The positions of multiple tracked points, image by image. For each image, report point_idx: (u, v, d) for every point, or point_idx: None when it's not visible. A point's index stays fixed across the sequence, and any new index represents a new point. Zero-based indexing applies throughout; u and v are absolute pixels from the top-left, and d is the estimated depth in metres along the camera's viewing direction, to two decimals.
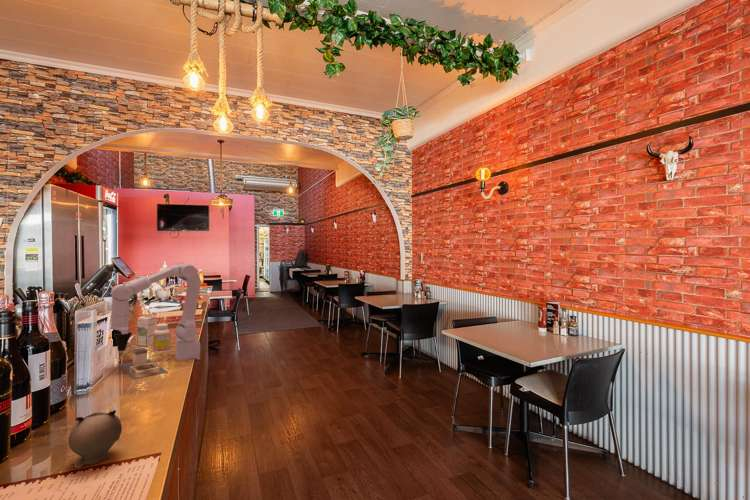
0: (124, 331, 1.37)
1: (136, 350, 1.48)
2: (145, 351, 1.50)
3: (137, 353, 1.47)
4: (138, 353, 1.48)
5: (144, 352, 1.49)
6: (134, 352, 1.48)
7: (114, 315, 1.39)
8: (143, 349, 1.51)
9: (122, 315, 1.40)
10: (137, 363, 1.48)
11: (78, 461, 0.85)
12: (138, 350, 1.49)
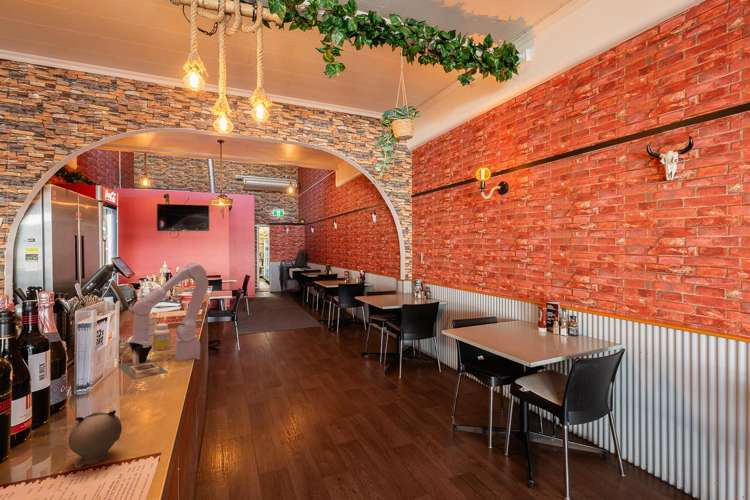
0: (145, 345, 1.45)
1: (136, 350, 1.48)
2: None
3: (137, 353, 1.47)
4: None
5: None
6: (134, 352, 1.48)
7: (135, 329, 1.47)
8: None
9: (142, 329, 1.48)
10: (137, 363, 1.48)
11: (78, 461, 0.85)
12: None
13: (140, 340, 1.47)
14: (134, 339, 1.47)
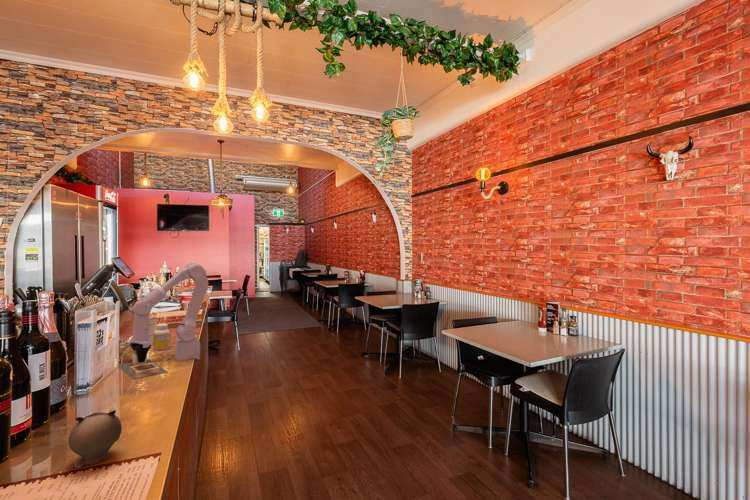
0: (145, 345, 1.45)
1: None
2: None
3: None
4: None
5: None
6: (134, 352, 1.48)
7: (135, 329, 1.47)
8: None
9: (142, 329, 1.48)
10: (137, 363, 1.48)
11: (78, 461, 0.85)
12: None
13: (140, 340, 1.47)
14: (134, 339, 1.47)
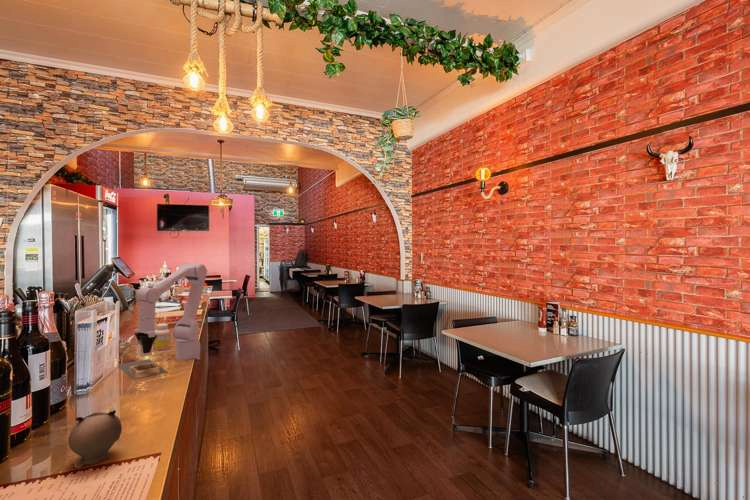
0: (151, 334, 1.36)
1: (140, 341, 1.39)
2: None
3: (141, 344, 1.38)
4: None
5: None
6: (139, 342, 1.39)
7: (144, 318, 1.38)
8: None
9: (152, 317, 1.40)
10: (142, 354, 1.38)
11: (78, 461, 0.85)
12: None
13: (145, 329, 1.38)
14: (139, 328, 1.38)
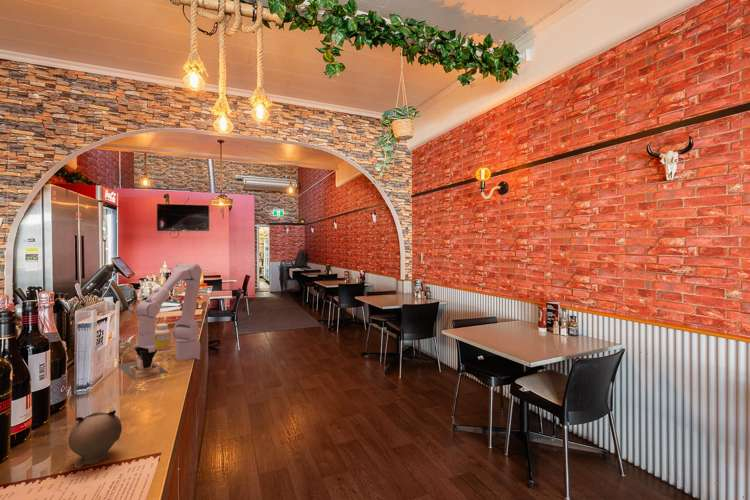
0: (151, 349, 1.35)
1: (140, 355, 1.38)
2: None
3: (141, 359, 1.37)
4: None
5: None
6: (139, 357, 1.38)
7: (145, 333, 1.37)
8: None
9: (152, 332, 1.39)
10: (142, 369, 1.38)
11: (78, 461, 0.85)
12: None
13: (145, 344, 1.37)
14: (139, 343, 1.37)
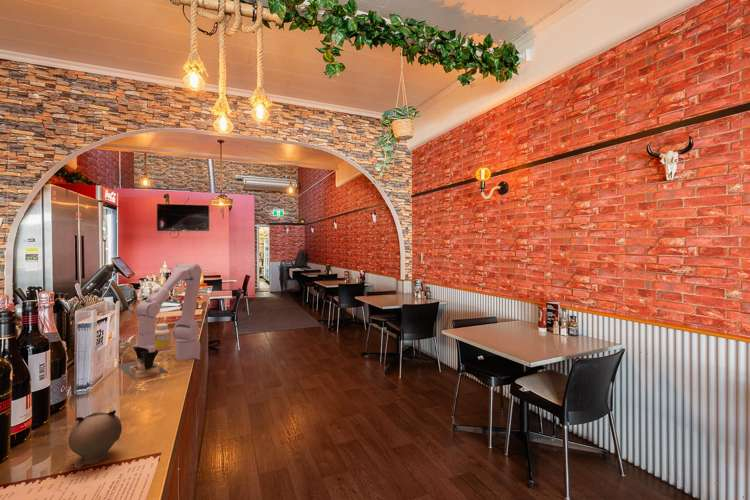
0: (151, 349, 1.35)
1: (140, 359, 1.38)
2: None
3: (141, 362, 1.37)
4: (143, 362, 1.38)
5: None
6: (138, 361, 1.38)
7: (145, 333, 1.37)
8: None
9: (152, 332, 1.39)
10: None
11: (78, 461, 0.85)
12: None
13: (145, 344, 1.37)
14: (139, 343, 1.37)
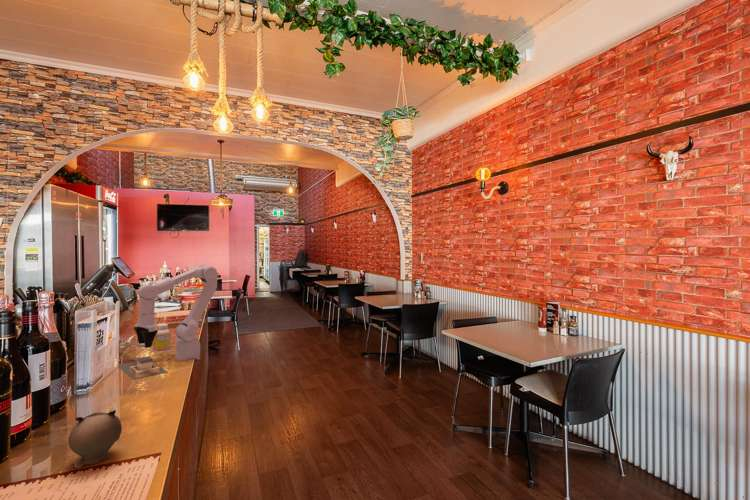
0: (151, 328, 1.44)
1: (140, 359, 1.38)
2: (150, 360, 1.40)
3: (141, 362, 1.37)
4: (143, 362, 1.38)
5: (149, 361, 1.39)
6: (138, 361, 1.38)
7: (141, 313, 1.46)
8: (148, 357, 1.41)
9: (148, 313, 1.47)
10: None
11: (78, 461, 0.85)
12: (143, 359, 1.39)
13: (146, 324, 1.47)
14: (139, 323, 1.46)
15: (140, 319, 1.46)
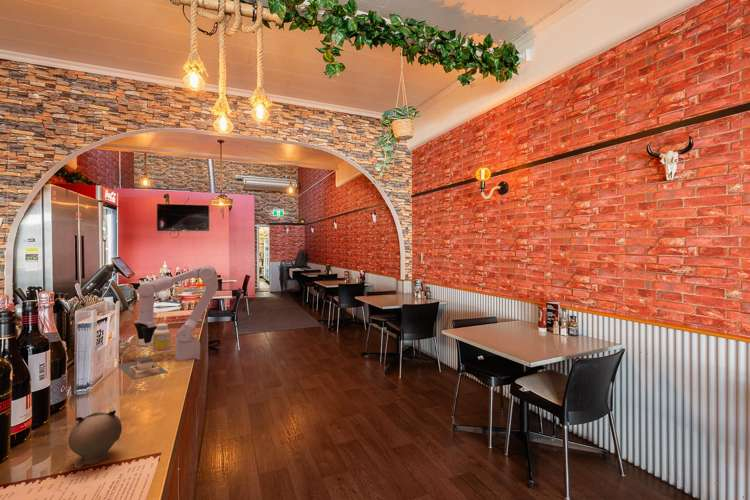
0: (150, 325, 1.50)
1: (140, 359, 1.38)
2: (150, 360, 1.40)
3: (141, 362, 1.37)
4: (143, 362, 1.38)
5: (149, 361, 1.39)
6: (138, 361, 1.38)
7: (139, 310, 1.53)
8: (148, 357, 1.41)
9: (144, 310, 1.53)
10: None
11: (78, 461, 0.85)
12: (143, 359, 1.39)
13: (145, 320, 1.53)
14: (139, 319, 1.52)
15: (140, 315, 1.52)
